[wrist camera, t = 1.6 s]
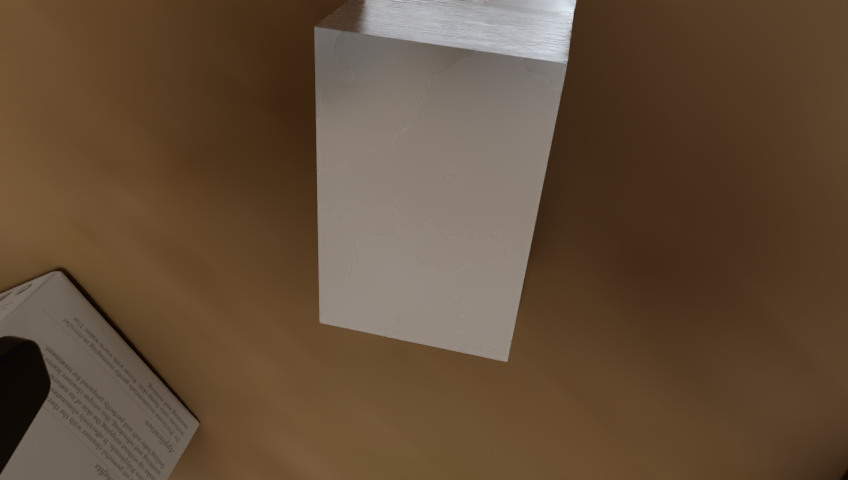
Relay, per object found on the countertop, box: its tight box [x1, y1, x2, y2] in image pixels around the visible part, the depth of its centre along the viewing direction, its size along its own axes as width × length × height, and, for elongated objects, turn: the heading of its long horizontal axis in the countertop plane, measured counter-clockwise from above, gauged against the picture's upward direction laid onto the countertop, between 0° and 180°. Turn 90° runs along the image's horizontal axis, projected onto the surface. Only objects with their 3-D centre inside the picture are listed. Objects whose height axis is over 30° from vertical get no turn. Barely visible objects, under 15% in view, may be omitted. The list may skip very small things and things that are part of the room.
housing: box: [314, 0, 576, 362], centre depth 15 cm, size 10×4×4 cm, turn 176°
